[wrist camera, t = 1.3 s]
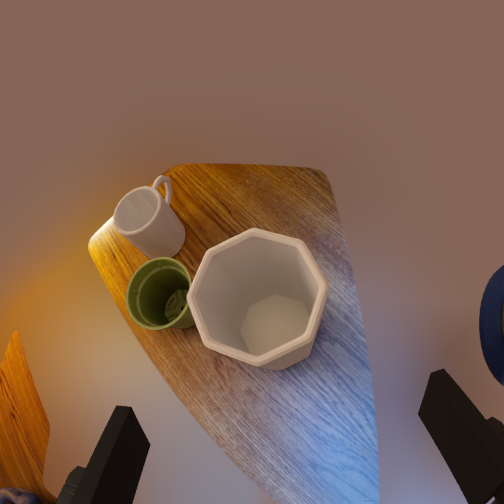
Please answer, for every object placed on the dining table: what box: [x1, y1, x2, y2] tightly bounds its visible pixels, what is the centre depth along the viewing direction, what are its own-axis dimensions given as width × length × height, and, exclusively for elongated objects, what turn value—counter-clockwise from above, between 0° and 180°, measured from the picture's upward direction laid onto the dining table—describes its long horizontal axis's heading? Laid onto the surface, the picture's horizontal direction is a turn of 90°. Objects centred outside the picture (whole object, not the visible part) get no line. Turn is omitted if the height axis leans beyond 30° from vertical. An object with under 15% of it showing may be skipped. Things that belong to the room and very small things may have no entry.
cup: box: [187, 228, 329, 371], centre depth 30 cm, size 11×11×18 cm
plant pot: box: [126, 257, 196, 330], centre depth 38 cm, size 9×9×9 cm
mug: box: [113, 175, 186, 259], centre depth 44 cm, size 8×12×10 cm
